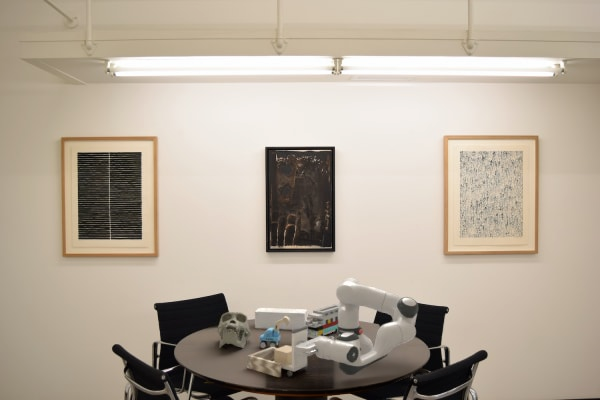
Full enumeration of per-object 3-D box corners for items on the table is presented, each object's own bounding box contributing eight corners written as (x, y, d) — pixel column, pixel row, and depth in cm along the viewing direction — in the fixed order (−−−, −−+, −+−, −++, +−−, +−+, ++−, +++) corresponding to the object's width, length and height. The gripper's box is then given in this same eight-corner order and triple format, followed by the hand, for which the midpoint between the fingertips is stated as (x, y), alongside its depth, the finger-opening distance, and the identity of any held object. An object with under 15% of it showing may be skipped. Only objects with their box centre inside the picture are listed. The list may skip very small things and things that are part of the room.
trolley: (308, 370, 231) (308, 325, 231) (292, 377, 221) (293, 330, 221) (285, 364, 239) (285, 320, 239) (269, 370, 230) (269, 325, 230)
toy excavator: (287, 350, 261) (287, 319, 261) (258, 348, 265) (258, 317, 265) (291, 345, 270) (291, 315, 270) (262, 344, 273) (262, 313, 273)
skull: (217, 354, 278) (210, 340, 254) (223, 318, 289) (216, 302, 265) (249, 356, 277) (245, 343, 253) (254, 320, 288) (250, 305, 264)
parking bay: (302, 366, 237) (302, 354, 237) (278, 377, 222) (278, 364, 222) (271, 358, 249) (271, 346, 249) (247, 367, 235) (247, 355, 235)
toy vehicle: (304, 338, 284) (304, 312, 284) (334, 327, 308) (334, 304, 308) (315, 340, 279) (315, 315, 279) (344, 329, 303) (344, 306, 302)
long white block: (306, 326, 312) (307, 309, 312) (304, 330, 302) (304, 313, 302) (258, 324, 317) (258, 307, 317) (254, 328, 306) (254, 311, 306)
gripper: (310, 361, 208) (285, 355, 217) (336, 349, 224) (312, 344, 233) (309, 346, 208) (285, 341, 217) (335, 335, 224) (311, 331, 233)
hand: (299, 342), depth 225 cm, fingers closed, pressing on trolley
